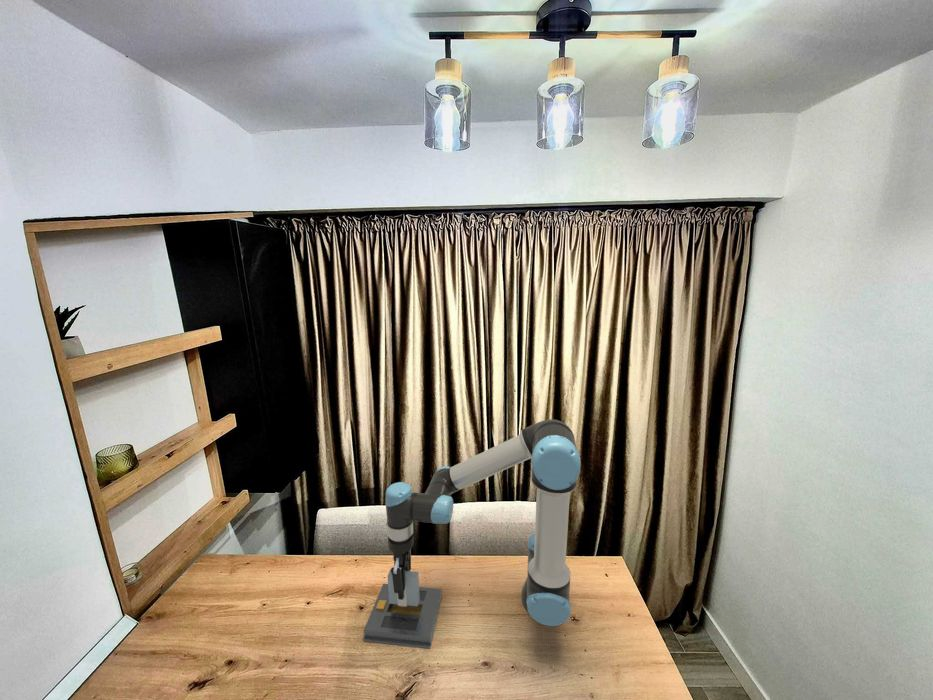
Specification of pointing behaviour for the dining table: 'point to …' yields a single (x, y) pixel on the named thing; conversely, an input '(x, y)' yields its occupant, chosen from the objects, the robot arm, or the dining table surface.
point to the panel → (411, 588)
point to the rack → (404, 620)
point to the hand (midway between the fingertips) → (404, 600)
